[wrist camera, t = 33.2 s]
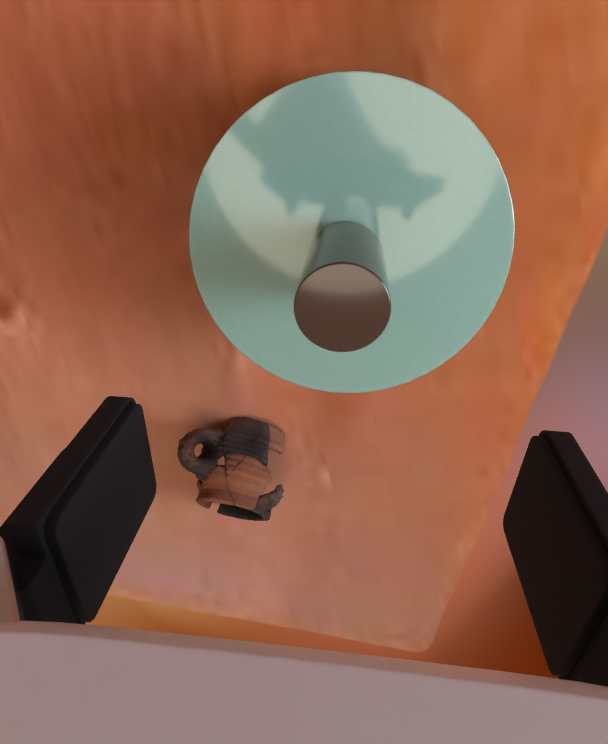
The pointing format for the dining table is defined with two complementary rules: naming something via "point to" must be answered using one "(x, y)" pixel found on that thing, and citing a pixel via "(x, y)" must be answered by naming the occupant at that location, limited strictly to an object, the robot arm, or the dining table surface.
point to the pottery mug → (234, 467)
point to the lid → (351, 231)
